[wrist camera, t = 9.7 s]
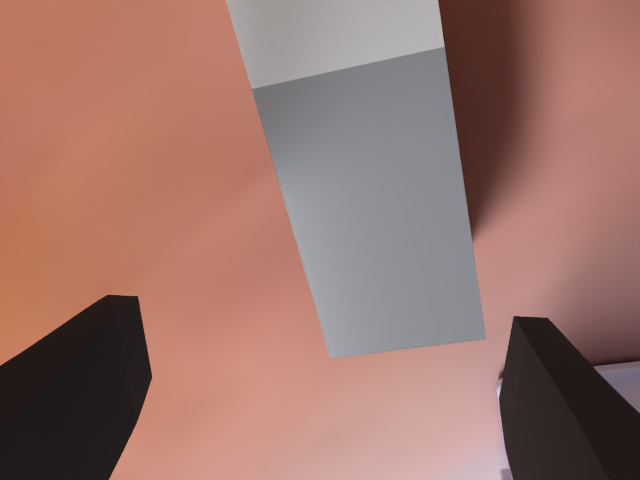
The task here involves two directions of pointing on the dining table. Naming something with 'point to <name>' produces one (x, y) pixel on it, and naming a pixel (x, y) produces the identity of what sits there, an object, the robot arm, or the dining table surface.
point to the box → (367, 166)
